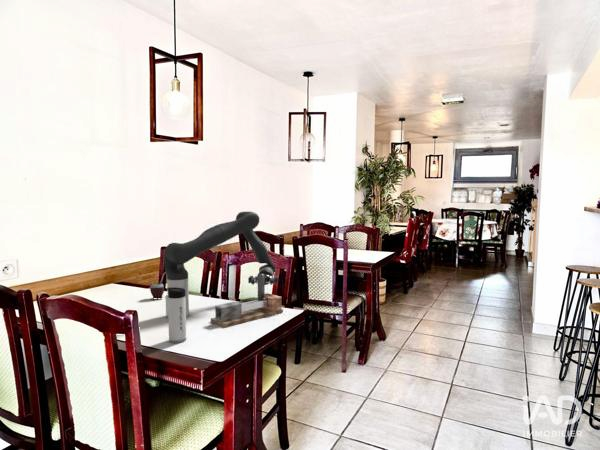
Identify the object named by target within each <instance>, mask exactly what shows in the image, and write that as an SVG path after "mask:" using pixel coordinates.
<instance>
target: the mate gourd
mask: <svg viewBox="0 0 600 450" xmlns="http://www.w3.org/2000/svg"><path fill="white" fill-rule="evenodd" d="M165 275H166V272H163V274H162V276H161V280H160V282H157V283H156V282H154V283H152V284H151V285H150V287H149V288H150V289H149V291H150V294H151V296H152V299H153V298H163V295H164V293H165V287H164V286H165V285H164V284H163V282H162V281H163V279H164V276H165Z"/></svg>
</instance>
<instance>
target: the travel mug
mask: <svg viewBox="0 0 600 450" xmlns="http://www.w3.org/2000/svg"><path fill="white" fill-rule="evenodd" d="M166 290H168V317H167V318H168V341H169V343H171V344H181V343H184V342H185V341H186V340H187V316H186V298H185V297H186V296H185V289H183V288H177V287H173V288H170V287H168V288H167V287H166Z"/></svg>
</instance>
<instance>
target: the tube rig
mask: <svg viewBox="0 0 600 450" xmlns="http://www.w3.org/2000/svg"><path fill="white" fill-rule="evenodd" d="M265 298H267V299H268V306H265V307H261V308H257V309H252V310H248V311H244V312H241V304H240V303H241V302H240V303H239V302H238V301H231V302H228V303H223V304H216V305H215V306H214V307H215V308H214V310H215V315H214V316H215V317H212V318H210V323H213V324H215V325H218V326H220V327H222V328H229V327H233V326H235V325H241V324H245V323H247V322H252V321H255V320H260V319H263V318H266V317H267V318H268V317H270V316H271V317H272V316H276V315H279V314H283V313H284V309H283V307H282V301H283V299H282V296H279V295H276V294H272V293H269V292H268V293H265ZM282 312H283V313H282Z"/></svg>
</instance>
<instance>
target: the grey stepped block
mask: <svg viewBox="0 0 600 450" xmlns="http://www.w3.org/2000/svg"><path fill="white" fill-rule="evenodd" d="M257 275H258V284H257V299H254V300H251V301H246V302H242V303H241V302H240V304H241V312H244V311H248V310H252V309H257V308H261V307H265V306H268V299H267V298H265V294H266V293H265V292H266V291H265V286H266V285H265V278H264V274H258V273H257ZM257 275H256V276H257Z"/></svg>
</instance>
